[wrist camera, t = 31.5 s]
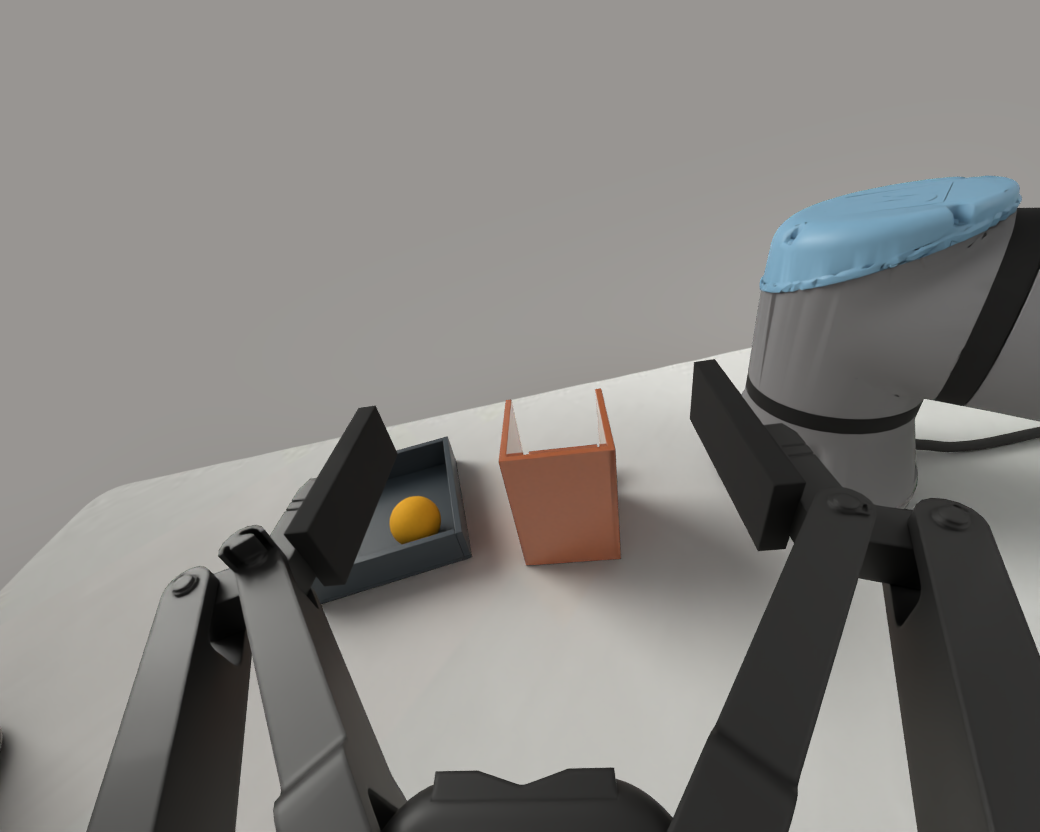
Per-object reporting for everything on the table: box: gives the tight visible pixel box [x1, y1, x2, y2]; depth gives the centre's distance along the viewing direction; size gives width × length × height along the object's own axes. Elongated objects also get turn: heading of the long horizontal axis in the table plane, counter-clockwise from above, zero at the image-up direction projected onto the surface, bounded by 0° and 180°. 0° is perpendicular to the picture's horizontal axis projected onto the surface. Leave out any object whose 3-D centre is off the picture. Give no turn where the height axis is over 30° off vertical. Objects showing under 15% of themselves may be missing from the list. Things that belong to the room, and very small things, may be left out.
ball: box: [390, 496, 441, 544], centre depth 38 cm, size 5×5×5 cm
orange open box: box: [499, 389, 621, 565], centre depth 36 cm, size 12×8×12 cm
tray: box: [311, 437, 472, 604], centre depth 41 cm, size 14×14×4 cm
